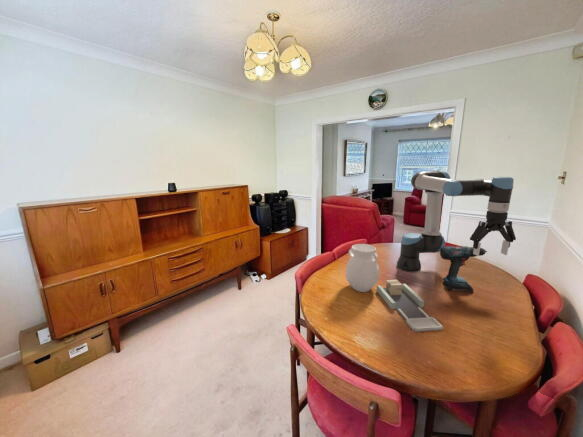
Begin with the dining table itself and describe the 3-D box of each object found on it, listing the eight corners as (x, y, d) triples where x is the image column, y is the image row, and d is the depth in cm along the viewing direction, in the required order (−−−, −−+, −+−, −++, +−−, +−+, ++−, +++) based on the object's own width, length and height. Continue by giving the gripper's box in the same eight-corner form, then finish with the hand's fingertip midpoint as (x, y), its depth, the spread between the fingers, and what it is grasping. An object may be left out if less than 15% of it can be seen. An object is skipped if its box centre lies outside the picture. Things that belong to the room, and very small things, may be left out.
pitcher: (383, 286, 145) (386, 246, 140) (369, 299, 132) (371, 255, 127) (354, 277, 158) (356, 240, 152) (339, 288, 145) (340, 247, 139)
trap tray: (405, 321, 114) (405, 318, 114) (432, 319, 115) (433, 316, 114) (414, 331, 107) (414, 328, 107) (442, 329, 108) (443, 326, 108)
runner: (378, 288, 144) (378, 287, 143) (399, 287, 144) (399, 286, 144) (405, 321, 114) (405, 319, 114) (431, 319, 115) (432, 317, 115)
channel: (376, 291, 141) (377, 285, 140) (404, 289, 142) (405, 283, 141) (391, 309, 124) (392, 303, 123) (423, 307, 125) (424, 300, 124)
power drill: (485, 293, 136) (492, 250, 130) (439, 289, 141) (444, 248, 135) (477, 285, 144) (483, 244, 139) (433, 282, 149) (438, 243, 143)
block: (385, 289, 141) (386, 280, 140) (396, 289, 142) (396, 279, 140) (390, 295, 135) (391, 285, 134) (401, 294, 136) (402, 284, 135)
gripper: (476, 213, 110) (469, 258, 115) (531, 211, 110) (522, 256, 115) (464, 210, 117) (458, 252, 122) (516, 208, 118) (508, 250, 123)
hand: (489, 254), depth 119 cm, fingers open, 13 cm apart
